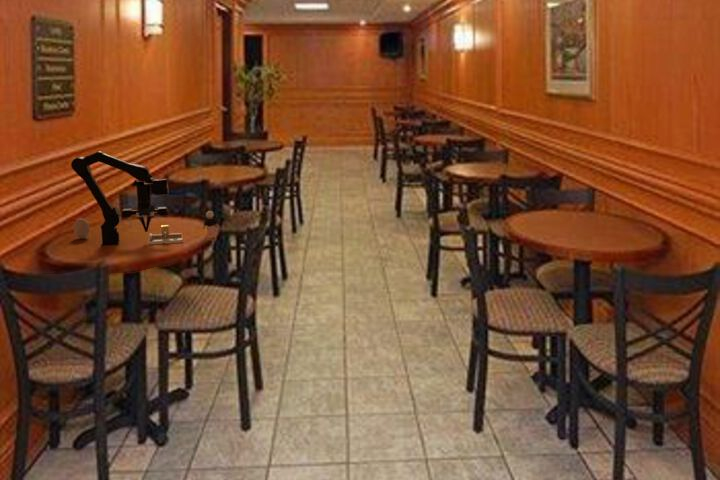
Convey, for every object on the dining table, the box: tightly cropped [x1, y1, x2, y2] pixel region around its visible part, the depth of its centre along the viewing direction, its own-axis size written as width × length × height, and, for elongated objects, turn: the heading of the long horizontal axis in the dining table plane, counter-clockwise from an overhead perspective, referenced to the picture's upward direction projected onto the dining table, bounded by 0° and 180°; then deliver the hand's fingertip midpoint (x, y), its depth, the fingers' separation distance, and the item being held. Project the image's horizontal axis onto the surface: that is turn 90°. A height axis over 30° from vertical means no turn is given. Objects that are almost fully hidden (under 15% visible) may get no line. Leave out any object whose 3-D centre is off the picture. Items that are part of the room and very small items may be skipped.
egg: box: [73, 217, 90, 240], centre depth 336 cm, size 7×7×9 cm
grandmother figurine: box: [202, 210, 220, 241], centre depth 331 cm, size 8×4×13 cm, turn 141°
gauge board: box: [148, 232, 184, 245], centre depth 330 cm, size 14×10×3 cm
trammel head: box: [160, 224, 170, 239], centre depth 329 cm, size 3×6×5 cm, turn 14°
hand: (146, 231), depth 329 cm, fingers closed
